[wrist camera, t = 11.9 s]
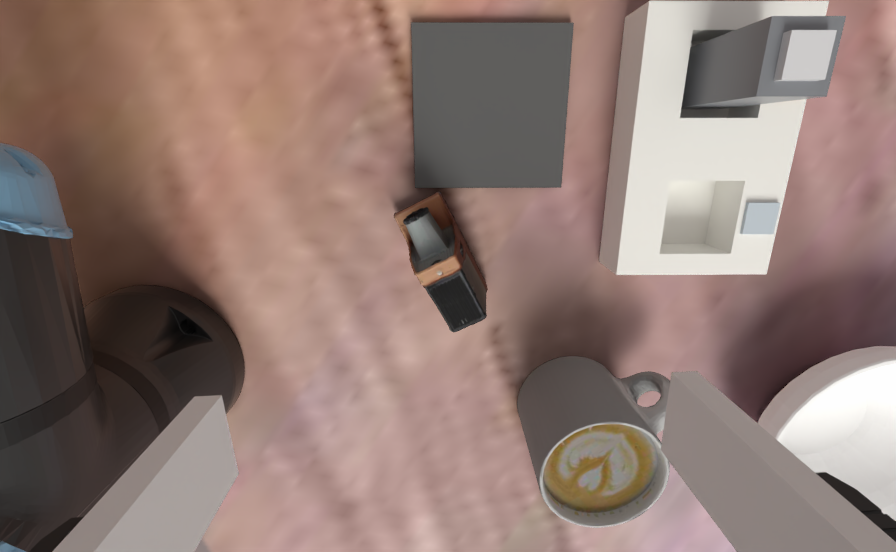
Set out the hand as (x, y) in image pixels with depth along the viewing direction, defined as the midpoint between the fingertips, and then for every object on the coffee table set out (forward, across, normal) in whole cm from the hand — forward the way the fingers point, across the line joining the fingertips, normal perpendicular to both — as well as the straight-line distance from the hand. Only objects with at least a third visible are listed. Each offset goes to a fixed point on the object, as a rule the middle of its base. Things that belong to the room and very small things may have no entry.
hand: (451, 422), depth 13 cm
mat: (+26, +5, +10) cm, 28 cm away
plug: (+24, +21, +12) cm, 34 cm away
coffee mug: (+25, +14, -16) cm, 33 cm away
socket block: (+25, +20, +7) cm, 33 cm away
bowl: (+25, +37, -19) cm, 48 cm away
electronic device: (+26, 0, -1) cm, 26 cm away
